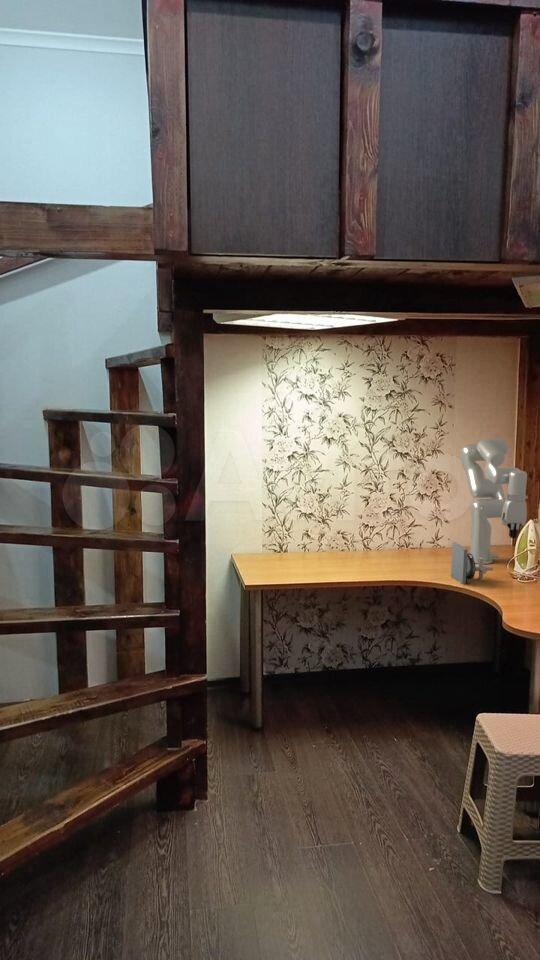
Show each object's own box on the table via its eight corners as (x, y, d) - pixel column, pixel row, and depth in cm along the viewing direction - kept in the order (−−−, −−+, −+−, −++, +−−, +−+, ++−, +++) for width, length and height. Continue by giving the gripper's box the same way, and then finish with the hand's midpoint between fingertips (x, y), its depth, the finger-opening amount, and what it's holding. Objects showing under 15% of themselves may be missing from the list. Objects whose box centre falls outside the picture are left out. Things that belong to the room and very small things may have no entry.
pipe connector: (466, 577, 303) (466, 555, 302) (488, 576, 303) (488, 555, 302) (473, 583, 293) (473, 561, 292) (495, 582, 293) (495, 560, 292)
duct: (463, 574, 303) (465, 550, 301) (474, 582, 292) (476, 556, 290) (454, 575, 302) (455, 550, 301) (465, 582, 291) (466, 557, 289)
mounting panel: (462, 575, 304) (464, 542, 301) (474, 584, 291) (476, 549, 289) (450, 576, 303) (452, 542, 301) (462, 584, 290) (464, 549, 288)
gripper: (527, 496, 299) (524, 535, 303) (496, 496, 297) (493, 535, 301) (536, 499, 292) (532, 539, 295) (504, 500, 290) (500, 540, 293)
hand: (512, 537), depth 298 cm, fingers closed
